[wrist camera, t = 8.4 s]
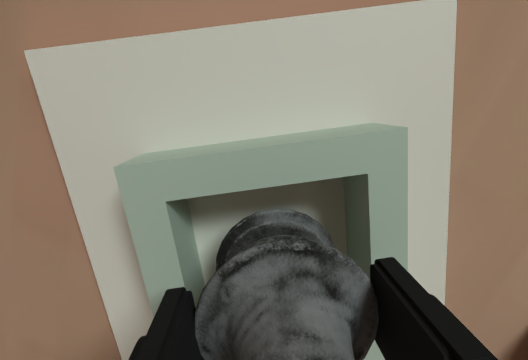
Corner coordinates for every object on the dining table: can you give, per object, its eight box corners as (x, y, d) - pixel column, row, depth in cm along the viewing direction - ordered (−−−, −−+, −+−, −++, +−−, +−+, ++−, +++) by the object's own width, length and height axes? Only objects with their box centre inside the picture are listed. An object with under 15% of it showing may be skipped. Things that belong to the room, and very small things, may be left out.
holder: (41, 55, 13) (-52, 32, 9) (441, 4, 13) (524, -40, 9) (146, 401, 18) (117, 484, 14) (431, 357, 18) (481, 426, 14)
